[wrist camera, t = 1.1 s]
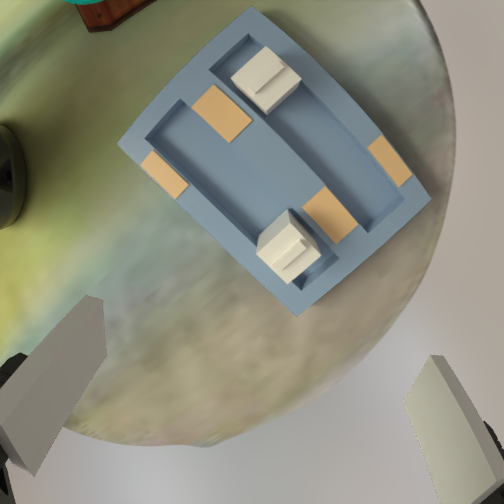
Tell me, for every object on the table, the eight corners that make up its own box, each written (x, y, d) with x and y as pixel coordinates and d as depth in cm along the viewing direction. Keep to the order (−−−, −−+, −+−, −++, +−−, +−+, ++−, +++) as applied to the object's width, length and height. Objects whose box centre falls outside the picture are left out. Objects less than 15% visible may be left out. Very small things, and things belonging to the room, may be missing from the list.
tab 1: (237, 87, 28) (229, 76, 23) (267, 60, 27) (265, 43, 21) (267, 115, 29) (265, 110, 23) (296, 88, 28) (302, 77, 22)
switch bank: (126, 146, 32) (112, 147, 29) (256, 13, 27) (255, 1, 23) (291, 305, 37) (293, 320, 34) (422, 190, 32) (435, 196, 29)
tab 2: (258, 235, 33) (255, 256, 28) (287, 208, 32) (290, 224, 26) (285, 261, 34) (287, 287, 28) (313, 236, 33) (322, 258, 27)
